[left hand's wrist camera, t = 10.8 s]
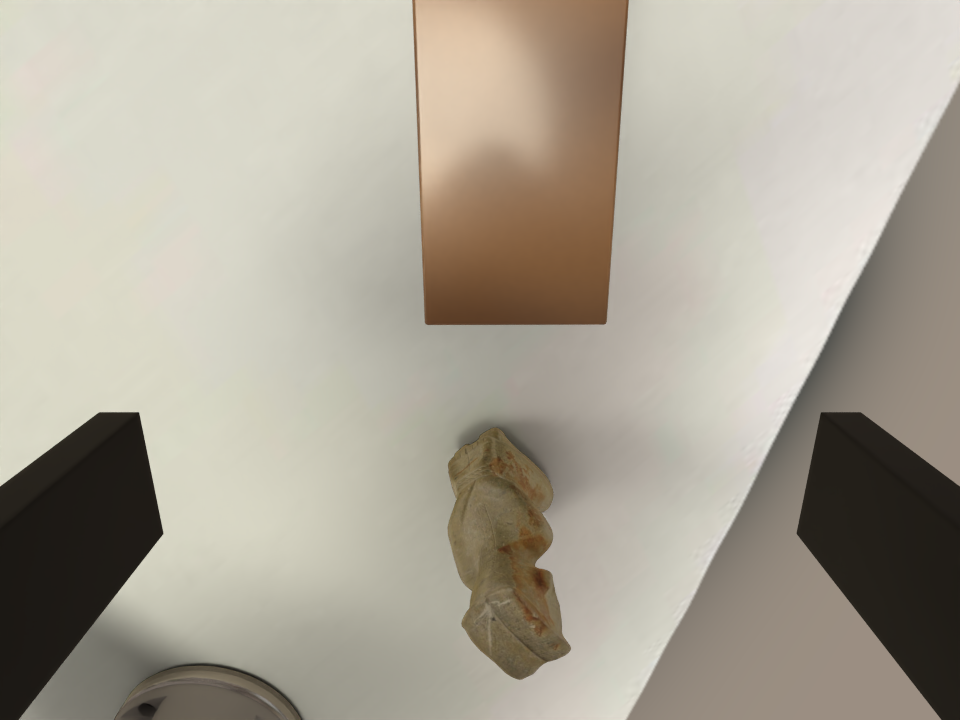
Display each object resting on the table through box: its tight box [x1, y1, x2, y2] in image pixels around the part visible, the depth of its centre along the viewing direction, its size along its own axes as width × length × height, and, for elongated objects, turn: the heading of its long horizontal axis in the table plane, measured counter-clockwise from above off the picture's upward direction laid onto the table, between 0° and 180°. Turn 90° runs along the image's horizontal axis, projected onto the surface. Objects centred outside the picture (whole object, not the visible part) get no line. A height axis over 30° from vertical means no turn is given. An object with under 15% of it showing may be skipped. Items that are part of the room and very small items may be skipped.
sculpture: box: [448, 428, 571, 680], centre depth 36 cm, size 6×7×15 cm
